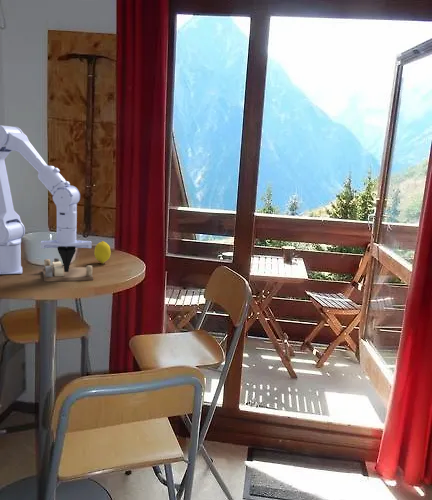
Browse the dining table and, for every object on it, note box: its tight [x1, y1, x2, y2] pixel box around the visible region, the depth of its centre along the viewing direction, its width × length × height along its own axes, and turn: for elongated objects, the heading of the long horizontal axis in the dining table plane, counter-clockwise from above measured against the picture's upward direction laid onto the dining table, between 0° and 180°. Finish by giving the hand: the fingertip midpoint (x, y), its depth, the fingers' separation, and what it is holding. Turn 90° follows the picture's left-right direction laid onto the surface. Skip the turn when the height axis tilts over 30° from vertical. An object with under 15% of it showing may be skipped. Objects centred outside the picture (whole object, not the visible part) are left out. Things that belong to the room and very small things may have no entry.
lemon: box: [93, 240, 112, 264], centre depth 169 cm, size 6×6×8 cm
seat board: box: [42, 258, 94, 283], centre depth 151 cm, size 14×12×4 cm
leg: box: [51, 257, 64, 276], centre depth 150 cm, size 10×2×3 cm, turn 23°
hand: (66, 271), depth 148 cm, fingers closed
